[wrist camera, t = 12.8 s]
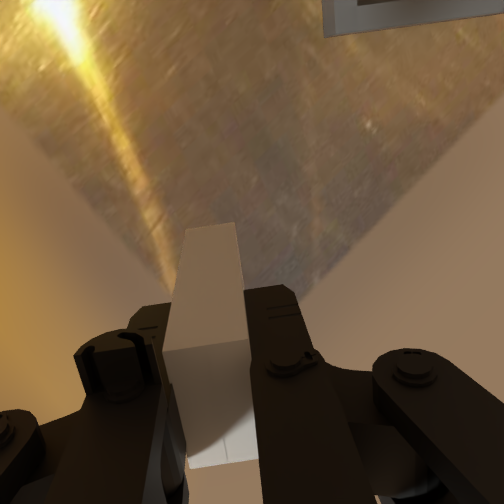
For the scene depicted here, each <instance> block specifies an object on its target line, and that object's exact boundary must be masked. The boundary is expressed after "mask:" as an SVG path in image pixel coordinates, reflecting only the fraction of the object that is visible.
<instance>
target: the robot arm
mask: <svg viewBox="0 0 504 504" xmlns="http://www.w3.org/2000/svg"><path fill="white" fill-rule="evenodd" d="M73 356H74V359H75V362H76V365H77V368H78V371H79V375H80V378H81V381H82V384H83V387H84V390H85V393H86V398H85V400H84V403H83V405H82V408H81V409H80V410H79V411H76V412H74V413H72V414H70V415H67V416H65V417H62V418H59V419H57V420H54V421H51V422H49V423H46V424H43V425H40V426H39V425H38V422H37V420H36V417H35V416H34V415H33V414H31V412H30V411H25V410H20V409H15V410H7V411H2V412H0V504H188V502H189V490H188V484H187V480H186V476H185V472H184V468H185V455H186V454H187V458H188V462H189V466H190V469H194V468H200V467H206V466H213V465H220V464H226V463H233V462H239V461H246V460H252V459H259V467H260V477H261V486H262V495H263V504H377V502H376V499H375V496H374V495H378V497H379V499H380V502H381V504H504V403H502V402H501V401H500V400H499V399H497V398H496V397H495V396H494V395H492V394H491V393H490V392H488V391H487V390H486V389H484V388H483V387H482V386H481V385H479V384H478V383H477V382H476V381H474V380H473V379H472V378H470V377H469V376H468V375H467V374H465V373H464V372H463V371H461V370H460V369H459V368H458V367H456V366H455V365H454V364H453V363H451V362H450V361H449V360H447V359H445V358H443V357H441V356H440V355H438V354H436V353H433V352H429V351H426V350H422V349H410V348H403V349H398V350H393V351H389V352H387V353H385V354H383V355H381V356H379V357H378V359H377V360H376V361H375V362H374V364H373V368H372V371H356V370H348V369H342V368H338V367H336V366H332V365H330V364H328V363H326V362H325V360H324V358H323V357H322V356H321V354H320V353H319V352H318V351H317V350H315V349H314V348H313V345H312V342H311V339H310V336H309V334H308V331H307V328H306V325H305V322H304V319H303V317H302V315H301V311H300V308H299V306H298V302H297V299H296V296H295V293H294V292H293V291H291V290H290V289H289V288H287V287H286V286H284V285H283V284H282V285H275V286H268V287H261V288H254V289H248V290H245V289H244V283H243V276H242V269H241V263H240V256H239V249H238V243H237V236H236V229H235V222H232V223H225V224H218V225H211V226H204V227H197V228H190V229H186V231H185V236H184V242H183V247H182V252H181V257H180V262H179V267H178V272H177V278H176V283H175V288H174V293H173V298H172V302H170V303H163V304H156V305H149V306H143V307H142V308H140V309H139V310H138V311H137V312H136V313H135V314H134V315H133V316H132V317H131V318H130V321H129V324H128V327H127V329H118V330H114V331H111V332H106V333H104V334H101V335H99V336H97V337H95V338H93V339H91V340H90V341H88V342H87V343H85V344H84V345H82V346H81V347H80V348H79V349H78V351H77V352H76V353H75V354H74V355H73Z"/></svg>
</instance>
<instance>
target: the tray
mask: <svg viewBox="0 0 504 504" xmlns="http://www.w3.org/2000/svg"><path fill="white" fill-rule="evenodd" d="M322 11H323V27H324V38H327V37H334V36H342V35H349V34H357V33H364V32H371V31H379V30H386V29H393V28H401V27H408V26H416V25H423V24H430V23H438V22H445V21H453V20H460V19H467V18H475V17H482V16H489V15H496V14H502V13H504V0H322Z"/></svg>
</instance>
